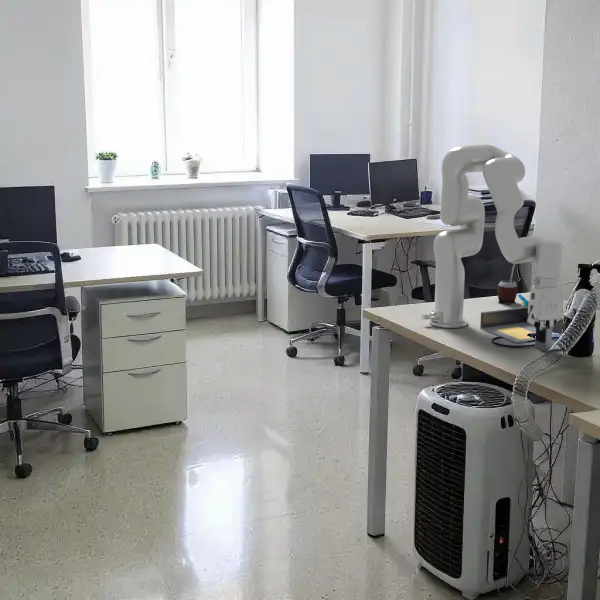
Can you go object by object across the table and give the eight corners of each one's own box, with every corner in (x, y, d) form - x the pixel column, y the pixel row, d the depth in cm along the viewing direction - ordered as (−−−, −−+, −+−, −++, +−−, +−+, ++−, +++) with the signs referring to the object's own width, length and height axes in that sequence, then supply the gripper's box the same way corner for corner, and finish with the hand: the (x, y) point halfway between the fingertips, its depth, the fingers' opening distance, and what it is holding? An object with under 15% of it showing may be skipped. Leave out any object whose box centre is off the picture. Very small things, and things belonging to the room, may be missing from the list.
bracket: (545, 351, 273) (546, 329, 271) (534, 347, 277) (536, 325, 276) (563, 348, 276) (565, 326, 274) (553, 344, 280) (554, 322, 278)
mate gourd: (499, 305, 329) (501, 264, 325) (494, 300, 337) (496, 260, 333) (520, 305, 329) (522, 264, 326) (514, 299, 337) (516, 260, 333)
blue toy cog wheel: (544, 314, 309) (523, 293, 309) (531, 326, 310) (510, 306, 310) (537, 311, 320) (518, 290, 320) (525, 322, 321) (505, 302, 320)
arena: (516, 343, 281) (517, 326, 280) (480, 328, 298) (481, 312, 297) (565, 336, 289) (567, 319, 287) (527, 322, 306) (528, 306, 304)
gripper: (533, 286, 264) (529, 347, 268) (576, 282, 270) (571, 341, 275) (517, 281, 271) (514, 341, 275) (559, 277, 277) (555, 335, 281)
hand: (542, 340), depth 275 cm, fingers closed on bracket
